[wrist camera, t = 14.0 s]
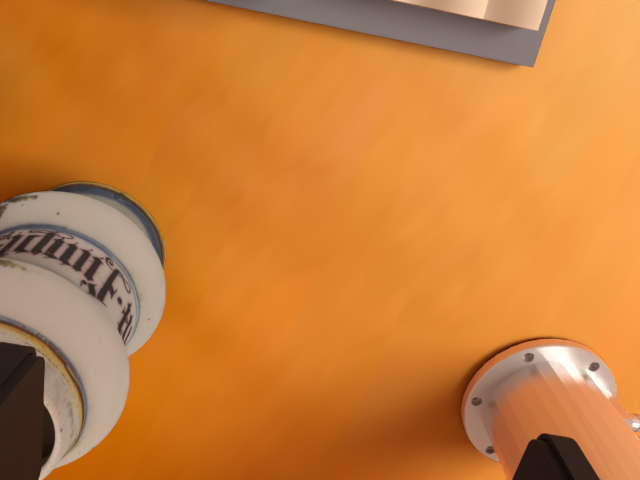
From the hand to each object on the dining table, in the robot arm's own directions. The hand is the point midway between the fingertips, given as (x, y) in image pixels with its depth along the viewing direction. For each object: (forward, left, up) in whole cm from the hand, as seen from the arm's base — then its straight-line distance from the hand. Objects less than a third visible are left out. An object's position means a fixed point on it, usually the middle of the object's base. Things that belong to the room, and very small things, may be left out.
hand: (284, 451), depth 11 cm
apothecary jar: (+12, +11, -28) cm, 33 cm away
